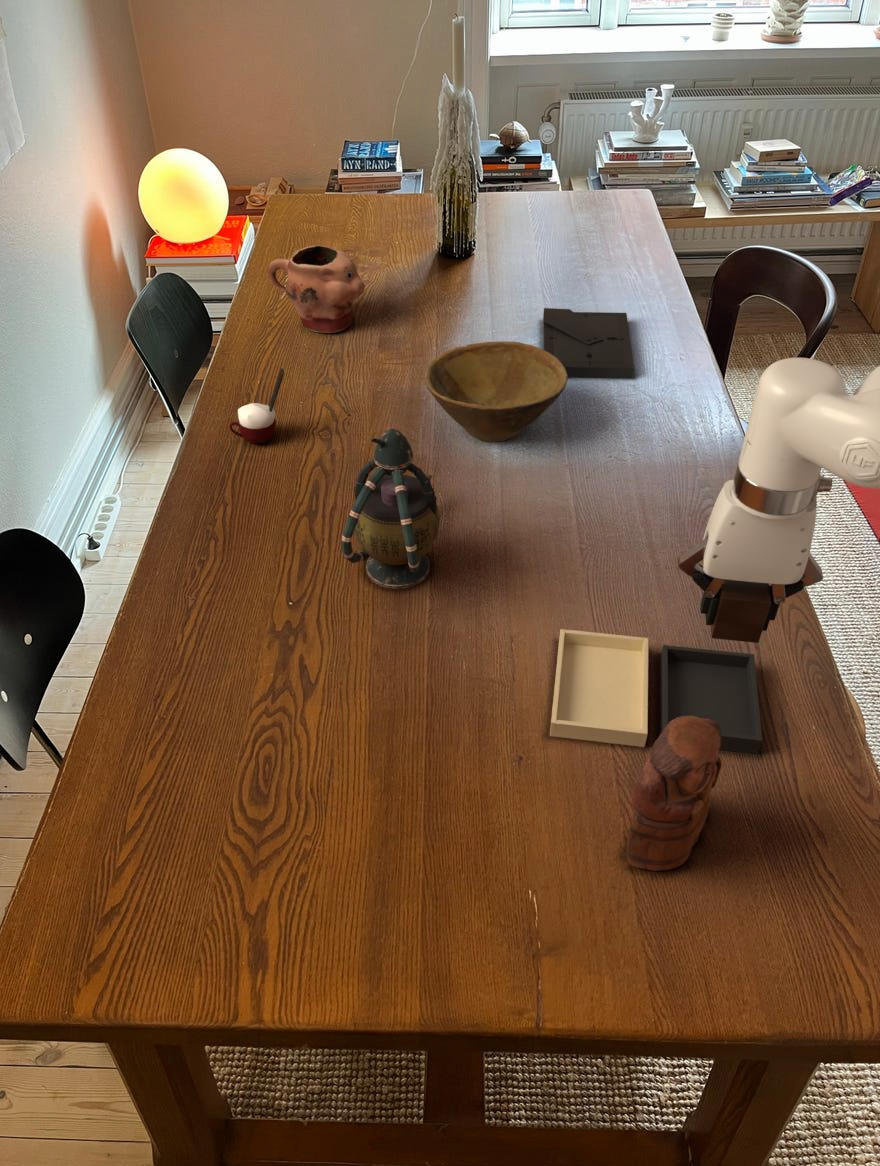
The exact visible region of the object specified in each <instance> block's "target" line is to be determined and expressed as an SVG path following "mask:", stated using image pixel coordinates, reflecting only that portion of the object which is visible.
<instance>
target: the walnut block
mask: <svg viewBox="0 0 880 1166" xmlns="http://www.w3.org/2000/svg"><path fill="white" fill-rule="evenodd" d="M769 585H770V583H758V582H747V581H737V580H728V579H727V580H726V581H725V583H724V584H723V585H722V587H721V588H720V590H719V603H718V607H717V611H716V615H715V618H714V622H713V624H711V625H710V636H711V639H716V640H725V641H734V642H743V643H744V642H746V643H756V644H759V643H760V640H761V636H762V634H763V631H762V630H763V627H764V624H765V621H766V618H767V614H768V611H769V608H770V605H771V597H770V589H769Z"/></svg>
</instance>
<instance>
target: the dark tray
mask: <svg viewBox="0 0 880 1166" xmlns="http://www.w3.org/2000/svg"><path fill="white" fill-rule="evenodd" d="M755 658H756V657H755V654H754V653H744V652H735V651H726V650H725V651H724V650H715V649H706V648H697V647H696V648H695V647H687V646H679V645H678V646H676V645H668V644H662V648H661V652H660V657H659V721H660V722H659V729H660V730H659V735H660V734H661V733H662V731H663V730H664V728H665V727H666V725H667V724H669V722H671V721H672V720H674V719H676V718H677V717H681V716H696V717H699V718H703V719H711V720H713V721H715V722H717V723H719V725H720V727H721V733H722V740H721V748H720V751H729V752H735V753H736V752H737V753H743V754H753V755H758V754H759V752H760V749H761V745H762V743H763V734H762V721H761V711H760V702H759V701H760V699H759V691H758V680H757V670H756V660H755Z"/></svg>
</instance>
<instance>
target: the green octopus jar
mask: <svg viewBox="0 0 880 1166" xmlns="http://www.w3.org/2000/svg"><path fill="white" fill-rule="evenodd" d="M370 442H371V443H375V444H376V445H375V448H374V453H373V459H371V461H370V460H369V461H367V463H365V465H364V466H363V467H362V468H361V469H359V471H358V475H357V478H356V479H355V485H354V487H353V493H354V503H353V505H352V507H351V509H350V512H349V514H348V517H347V520H346V522H345V525H344V528H343V531H342V536H341V542H340V545H341V552H342V554H343V556H344V558H345V559H346V560H347V561H348V562H350V563H351V564H354V563H355V564H356V563H360V562H366V565H365V569H366V573H367V576H368V577H369V578H370V579H371V581H372V582H373V583H375V584H377V585H379V586H381V587H384V588H388V589H397V590H398V589H399V590H401V589H406V588H411V587H413V586H416V585H418V584H420V583H421V582H422V581H424V580H425V579H426V577H428V574H429V573H430V566H431V564H430V563H431V562H430V560H429V558H428V556H427V555H426V554H427V553H428V552H429V551H430V549H431V548H432V546H433V544H434V543H435V541H436V540H437V539H438V534H439V529H440V521H441V515H440V514H441V513H440V509H439V506H438V504H437V496H436V492H435V488H434V487H433V485H432V482H431V480H432V477H433V475H431V474H429V473H424V471H423V470H422V469H421V467H418V466H416V465H415V464H413V460H414V451H413V449H412V447H411V445H410V442H409V440H408V439H407V437H406V436H405V435H404V434H403V433H402V432H401V431H399V430H397V429H395V428H390V429H388V430H386V431H385V432H384V433H383V434H382V435H381V436H380V437H379V438H378V437H377V438H372V439H371V440H370ZM375 468H376V469H375ZM374 469H375V470H374ZM372 471H373V473H372V474H371V475H370V473H371V472H372ZM407 471H409V472H410V473H412V474H413V475H414V476H412V475H408V474H406V472H407ZM369 475H370V476H369ZM354 534H355V538H356V539H355V540H356V542H357V543H358V545H359V546H360V547H361V549H360V550H359V551H358V552H355V551H354V549H353V545H352V540H353V536H354Z"/></svg>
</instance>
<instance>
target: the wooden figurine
mask: <svg viewBox="0 0 880 1166" xmlns="http://www.w3.org/2000/svg"><path fill="white" fill-rule="evenodd" d="M721 740H722V733H721V727H720V725H719V723H717V722H715V721H713V720H711V719H703V718H699V717H696V716H681V717H677V718H676V719H674V720H672V721H671V722H669V724H667V725H666V727H665V728H664V730H663V731H662V733H661V734H660V733H659V736H658V737H657V739H656V740H655V741H654V743H653V745H652V748H651V751H650V755H649V757H648V758H647V759H646V762H645V764H644V765H643V768H642V769H641V771H640V773H639V777H638V779H637V781H636V784H635V786H634V792H633V794H632V800H631V805H632V807H633V809H634V812H633V818H632V821H631V824H630V827H629V830H628V834H627V835H628V836H627V841H626V859H627V860H626V861H627V862H628V864H629V865H631V866H632V867H634V868H636V869H641V870H648V871H652V872H659V871H669V870H673V869H675V868H678V867H680V866H681V865H683V864H684V863H685V862H687V860H688V858H689V857H690V855H691V853H692V849H693V846H694V845H695V844H696V843H697V842H698V841H699V838H700V833H701V831H702V829H704V827H705V824H706V821H707V820H706V819H707V817H708V815H709V805H710V794H711V792H712V791H711V790H712V789H713V788H715V786H716V784H717V782H718V779H719V775H720V772H721V768H722V764H723V763H722V760H721V757H720V751H721V750H720V748H721Z"/></svg>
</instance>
